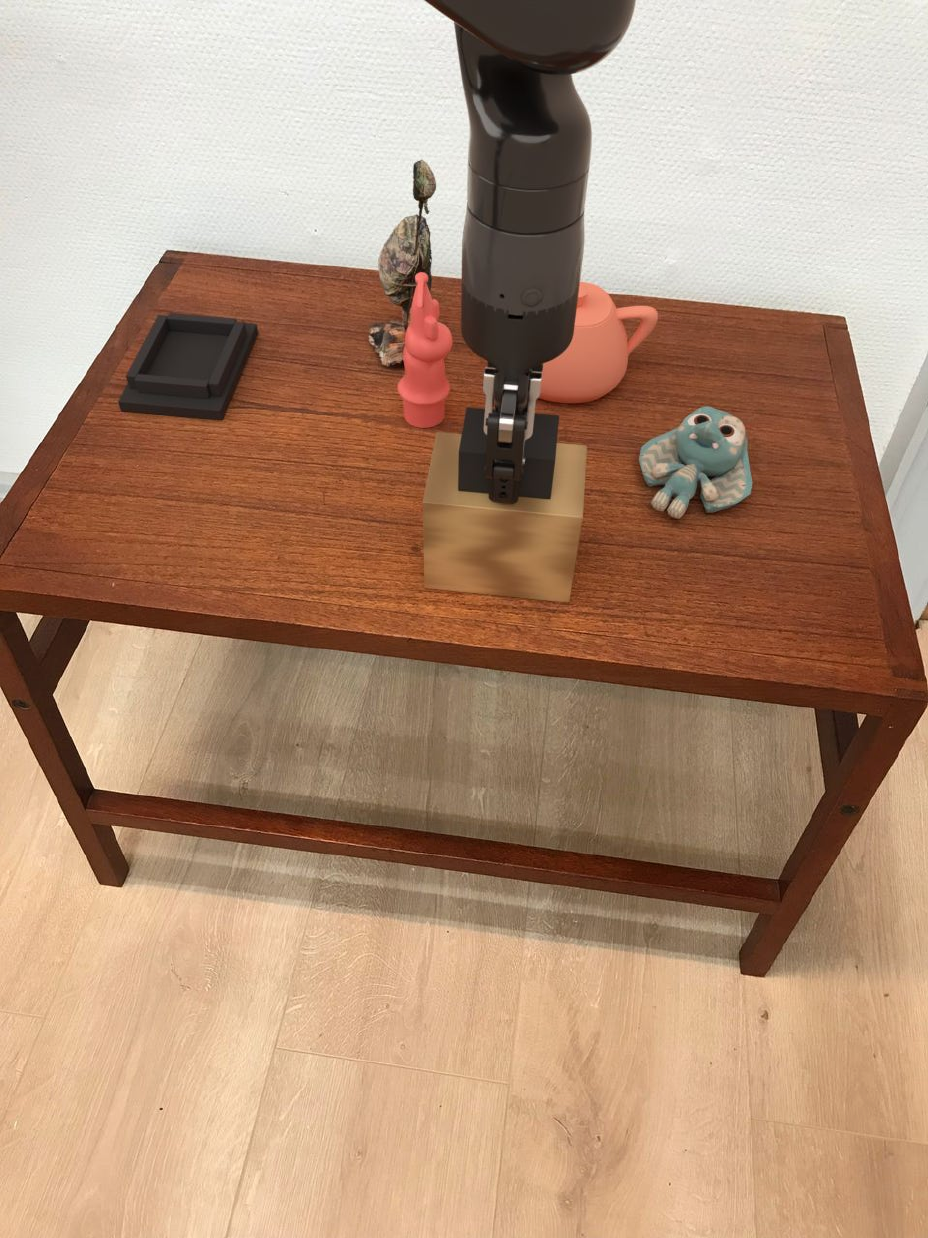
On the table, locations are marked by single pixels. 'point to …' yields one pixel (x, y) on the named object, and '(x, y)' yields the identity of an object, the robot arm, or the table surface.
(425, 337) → the figurine
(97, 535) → the table surface
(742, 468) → the stuffed animal
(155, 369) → the base pad
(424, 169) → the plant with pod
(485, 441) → the small black block
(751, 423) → the table surface
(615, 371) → the teapot
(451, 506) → the oak block
